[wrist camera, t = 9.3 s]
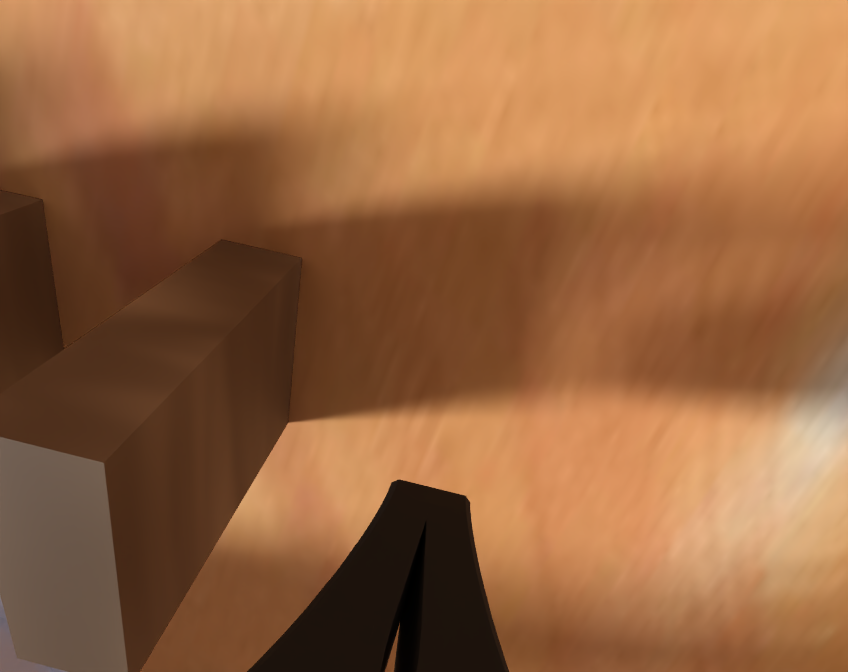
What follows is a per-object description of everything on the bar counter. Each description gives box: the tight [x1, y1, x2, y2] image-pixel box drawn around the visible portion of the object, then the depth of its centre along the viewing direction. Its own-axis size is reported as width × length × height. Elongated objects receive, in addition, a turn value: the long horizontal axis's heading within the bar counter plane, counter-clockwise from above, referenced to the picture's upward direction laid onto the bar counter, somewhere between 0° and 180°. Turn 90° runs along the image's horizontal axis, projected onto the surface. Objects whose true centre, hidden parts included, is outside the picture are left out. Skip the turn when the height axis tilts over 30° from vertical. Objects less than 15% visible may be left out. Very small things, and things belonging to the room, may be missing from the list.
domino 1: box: [0, 240, 302, 672], centre depth 12 cm, size 2×5×8 cm, turn 169°
